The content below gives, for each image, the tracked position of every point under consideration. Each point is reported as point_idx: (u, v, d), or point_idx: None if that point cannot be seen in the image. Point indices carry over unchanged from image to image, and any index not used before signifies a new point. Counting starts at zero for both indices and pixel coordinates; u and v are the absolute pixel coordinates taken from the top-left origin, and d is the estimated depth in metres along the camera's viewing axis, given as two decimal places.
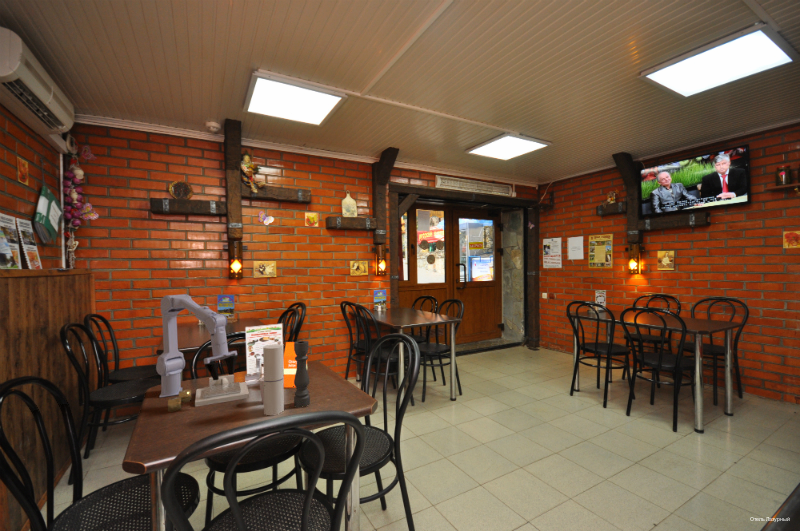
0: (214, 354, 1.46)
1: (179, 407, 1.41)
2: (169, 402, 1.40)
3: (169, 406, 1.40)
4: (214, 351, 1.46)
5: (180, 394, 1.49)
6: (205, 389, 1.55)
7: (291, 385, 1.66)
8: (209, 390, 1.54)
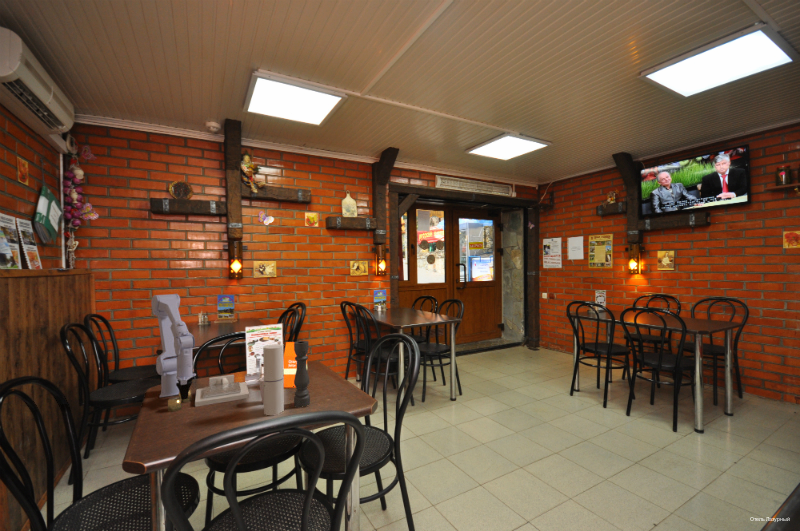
0: (183, 375, 1.48)
1: (179, 407, 1.41)
2: (169, 402, 1.40)
3: (169, 406, 1.40)
4: (184, 372, 1.49)
5: None
6: (205, 389, 1.55)
7: (291, 385, 1.66)
8: (209, 390, 1.54)
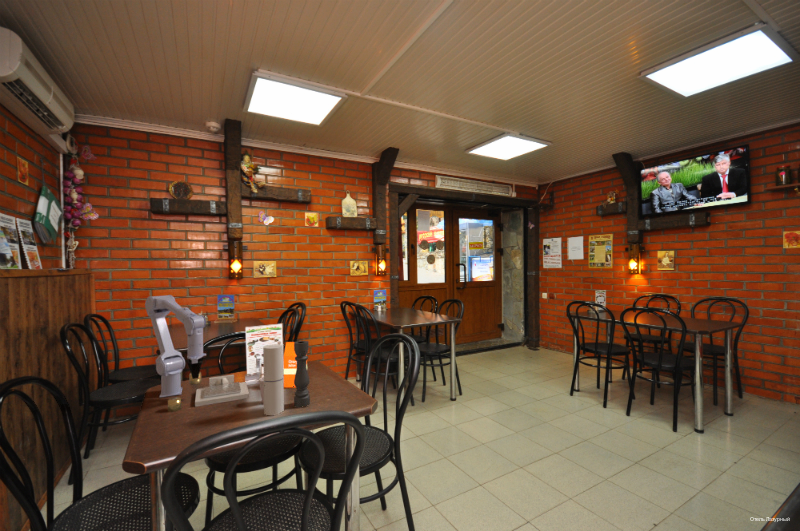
0: (194, 354, 1.50)
1: (179, 407, 1.41)
2: (169, 402, 1.40)
3: (169, 406, 1.40)
4: (195, 351, 1.50)
5: (190, 376, 1.50)
6: (205, 389, 1.55)
7: (291, 385, 1.66)
8: (209, 390, 1.54)
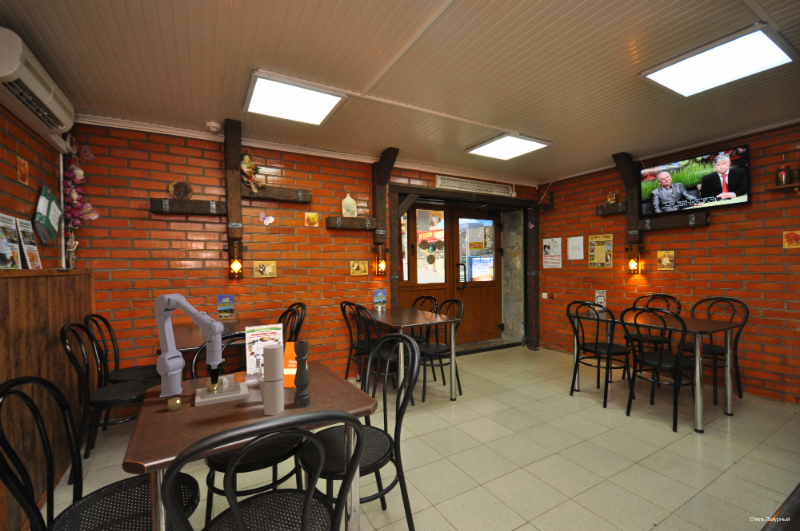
0: (213, 360, 1.53)
1: (179, 407, 1.41)
2: (169, 402, 1.40)
3: (169, 406, 1.40)
4: (214, 357, 1.53)
5: (208, 383, 1.53)
6: (205, 389, 1.55)
7: (291, 385, 1.66)
8: None
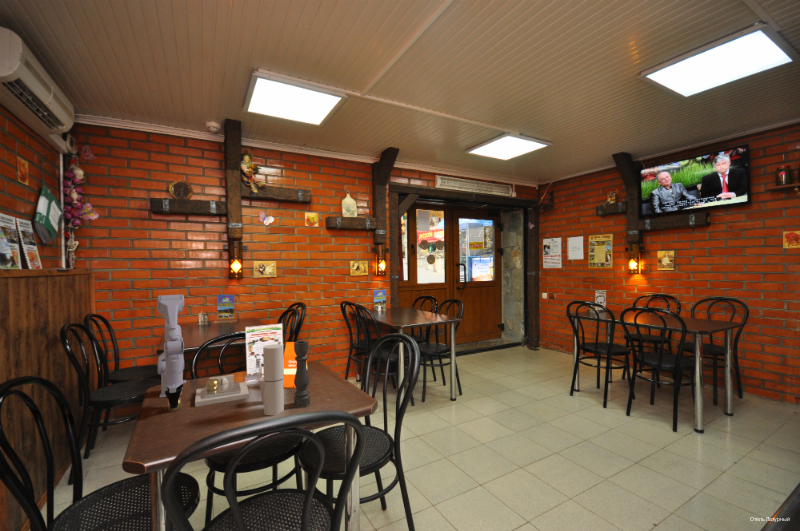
0: (173, 382, 1.39)
1: (179, 407, 1.41)
2: None
3: (169, 406, 1.40)
4: (173, 379, 1.39)
5: (208, 383, 1.53)
6: (205, 389, 1.55)
7: (291, 385, 1.66)
8: None
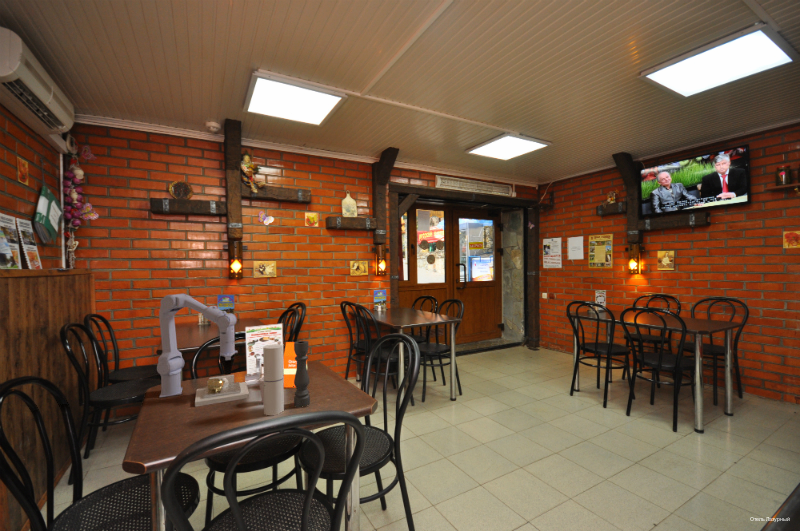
0: (227, 351, 1.55)
1: None
2: (223, 382, 1.53)
3: (222, 385, 1.52)
4: (227, 348, 1.55)
5: (209, 382, 1.54)
6: (205, 389, 1.55)
7: (291, 385, 1.66)
8: None
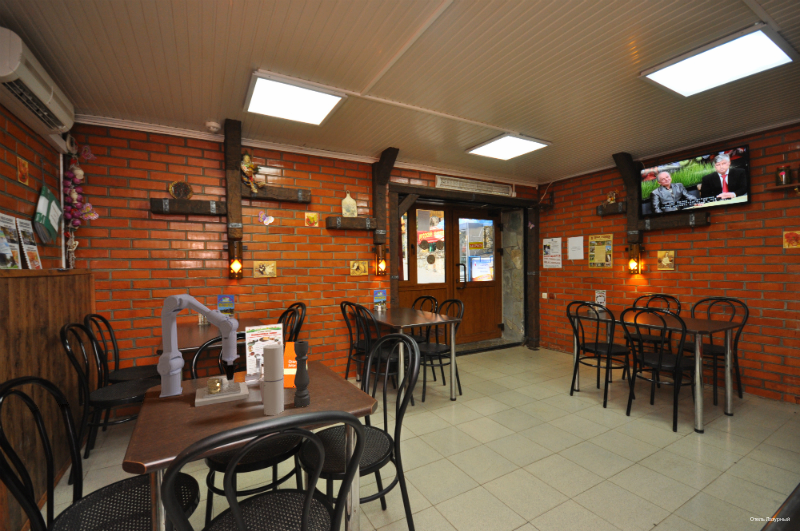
0: (229, 356, 1.56)
1: None
2: (219, 384, 1.51)
3: (219, 387, 1.51)
4: (229, 353, 1.56)
5: (209, 382, 1.54)
6: (205, 389, 1.55)
7: (291, 385, 1.66)
8: None
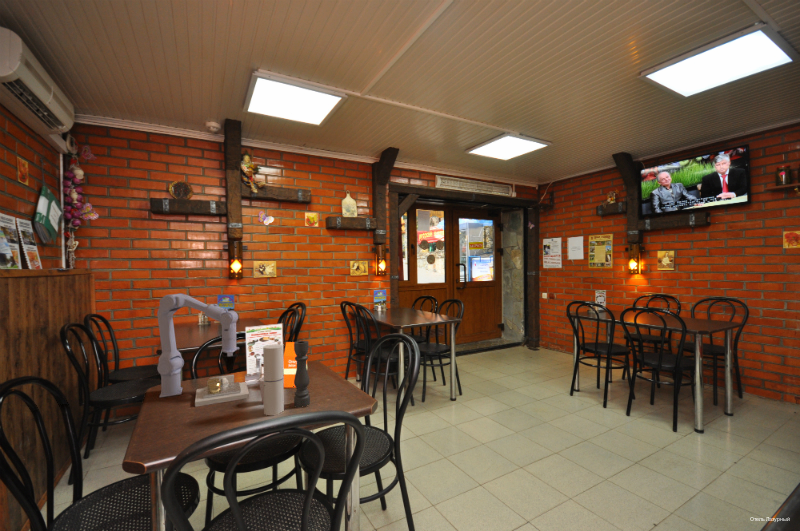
0: (229, 348, 1.57)
1: None
2: (219, 384, 1.51)
3: (219, 387, 1.51)
4: (229, 345, 1.57)
5: (209, 382, 1.54)
6: (205, 389, 1.55)
7: (291, 385, 1.66)
8: None
